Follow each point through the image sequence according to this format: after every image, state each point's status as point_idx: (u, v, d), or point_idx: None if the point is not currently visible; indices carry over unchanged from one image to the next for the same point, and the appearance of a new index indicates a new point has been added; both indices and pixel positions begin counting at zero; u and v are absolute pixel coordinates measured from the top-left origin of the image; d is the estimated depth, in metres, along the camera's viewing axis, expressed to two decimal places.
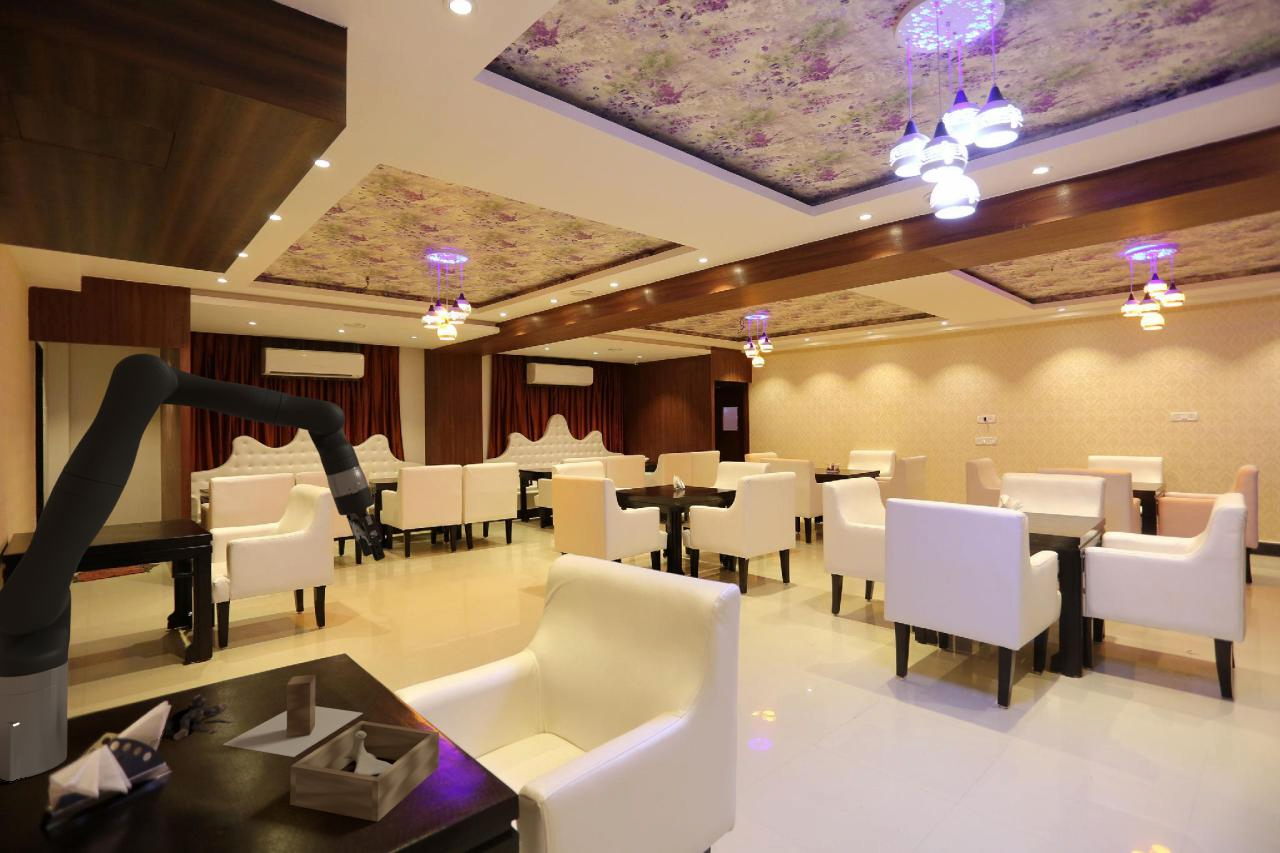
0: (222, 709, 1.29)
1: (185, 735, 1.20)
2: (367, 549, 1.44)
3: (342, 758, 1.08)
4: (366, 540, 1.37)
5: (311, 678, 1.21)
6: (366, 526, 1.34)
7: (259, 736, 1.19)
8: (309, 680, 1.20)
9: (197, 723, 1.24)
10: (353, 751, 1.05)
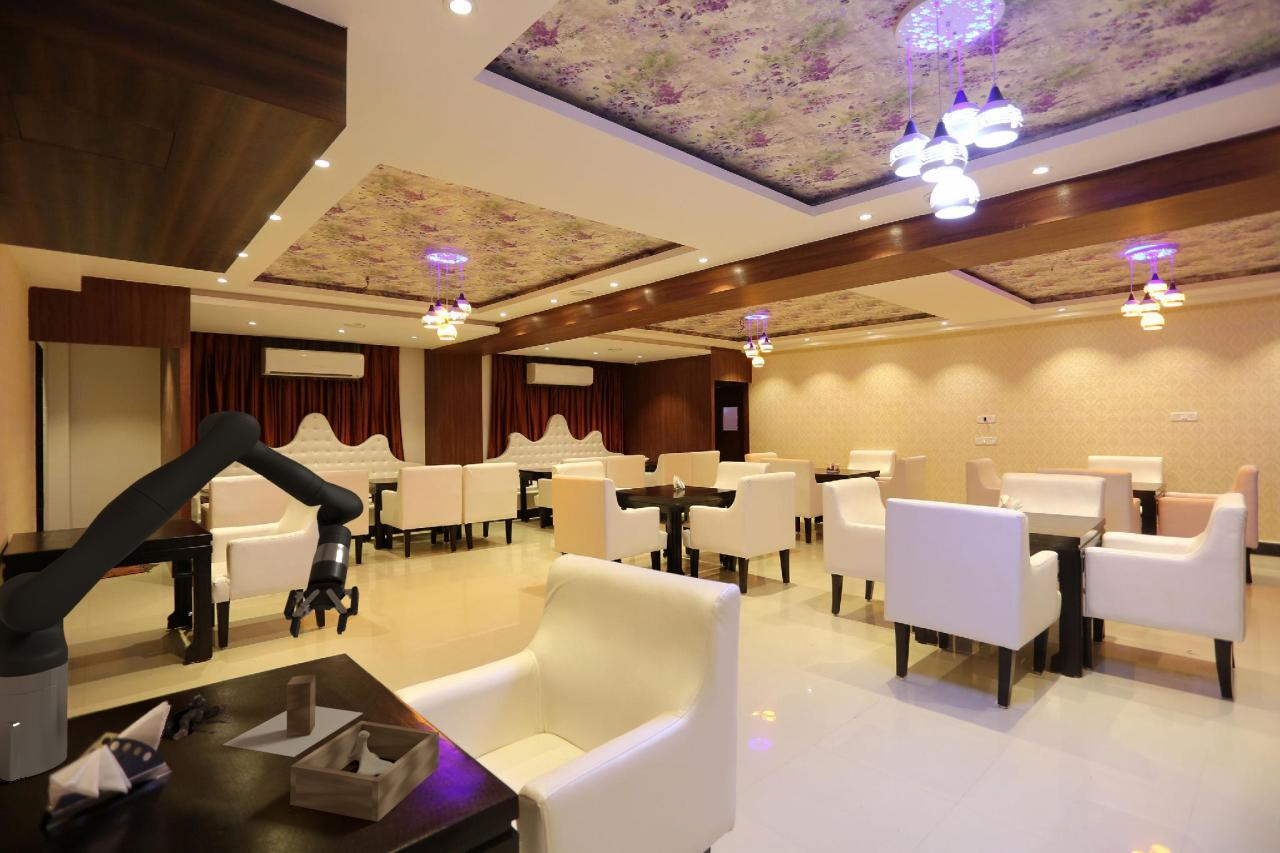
0: (222, 709, 1.29)
1: (184, 735, 1.20)
2: (297, 629, 1.32)
3: (342, 758, 1.08)
4: (338, 609, 1.35)
5: (311, 678, 1.21)
6: (357, 594, 1.39)
7: (259, 736, 1.19)
8: (309, 680, 1.20)
9: (197, 723, 1.24)
10: (356, 751, 1.05)
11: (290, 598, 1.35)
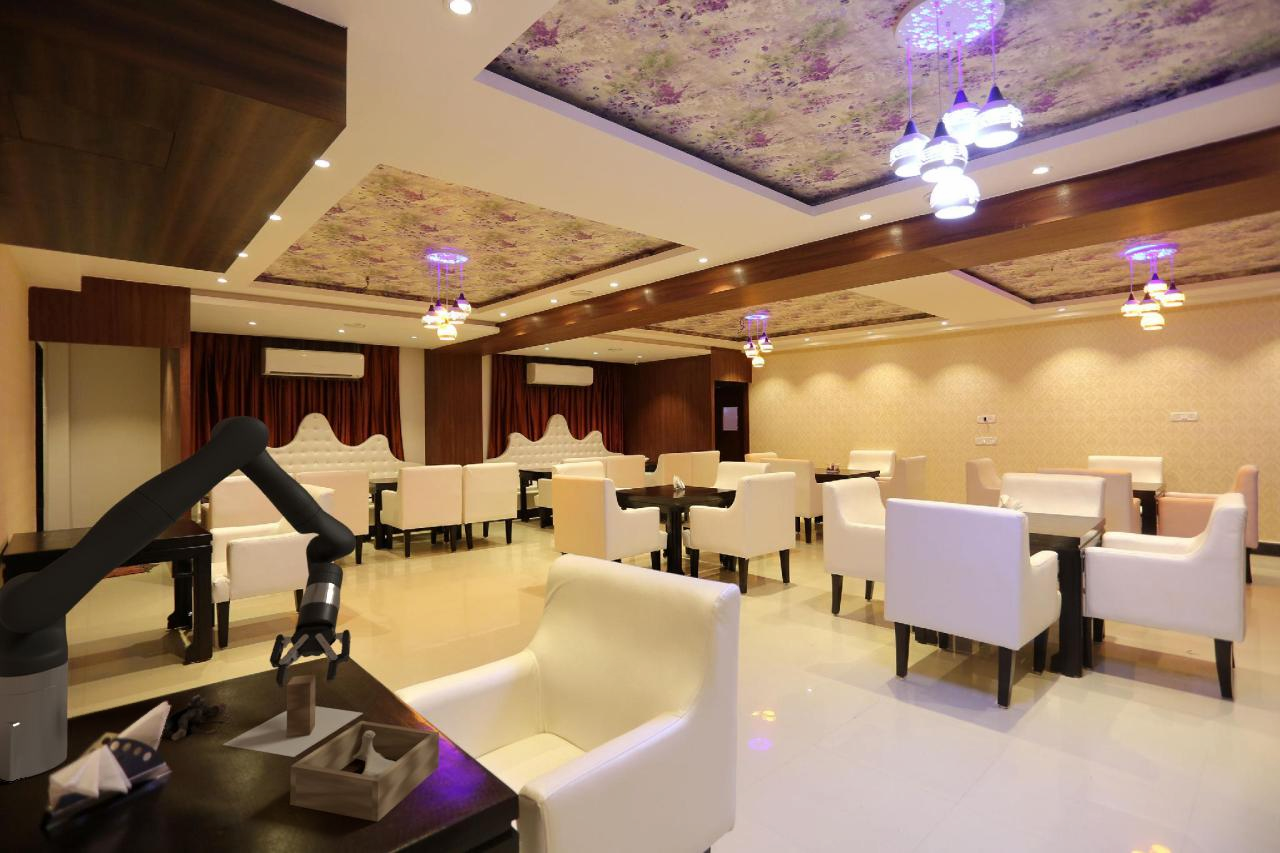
0: (221, 709, 1.29)
1: (183, 735, 1.20)
2: (284, 678, 1.24)
3: (342, 758, 1.08)
4: (328, 655, 1.27)
5: (311, 678, 1.21)
6: (348, 638, 1.31)
7: (259, 736, 1.19)
8: (309, 680, 1.20)
9: (196, 723, 1.23)
10: (362, 751, 1.05)
11: (277, 644, 1.27)
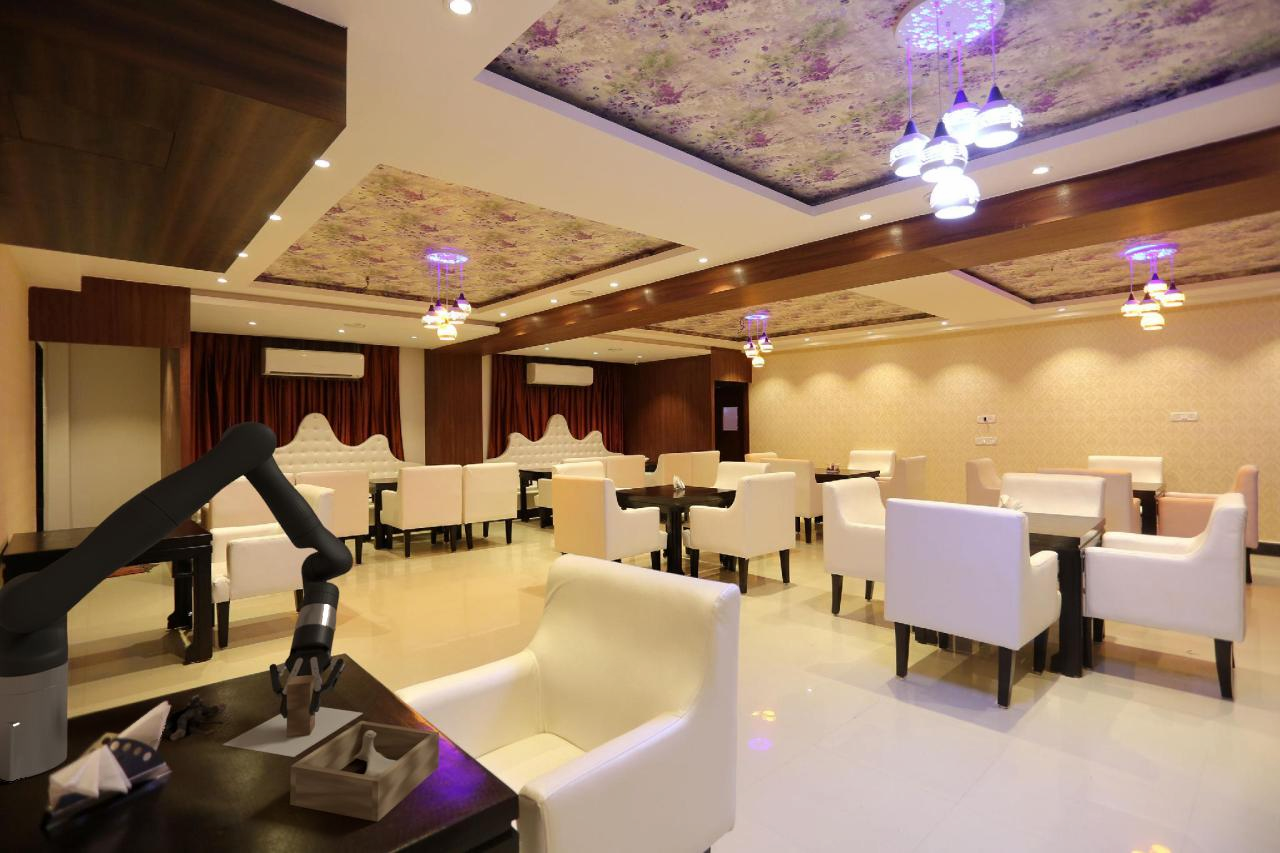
0: (221, 709, 1.29)
1: (182, 735, 1.19)
2: None
3: (342, 758, 1.08)
4: None
5: (311, 678, 1.21)
6: (339, 669, 1.25)
7: (259, 736, 1.19)
8: (309, 680, 1.20)
9: (195, 723, 1.23)
10: (363, 751, 1.05)
11: (273, 673, 1.22)
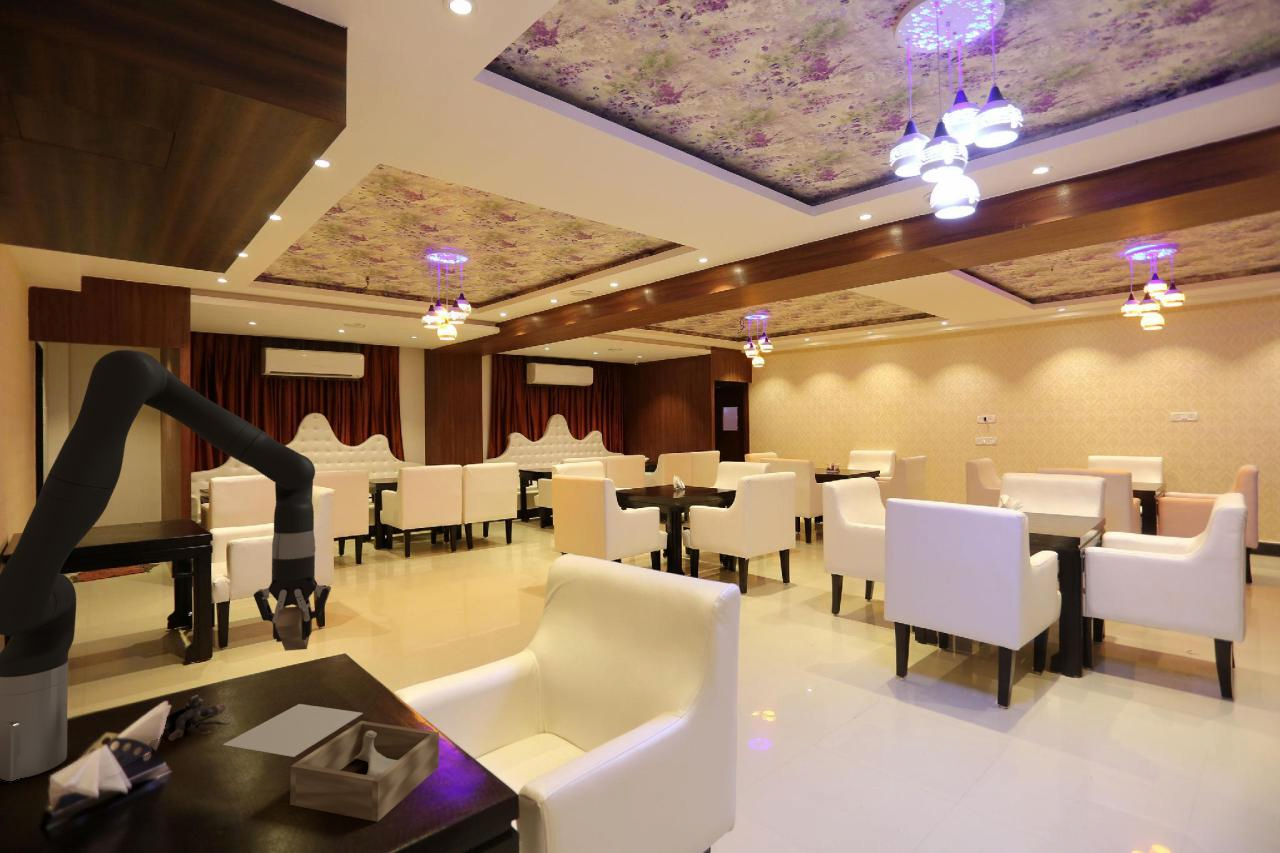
0: (220, 710, 1.28)
1: (180, 736, 1.19)
2: None
3: (342, 758, 1.08)
4: (302, 614, 1.25)
5: (298, 615, 1.23)
6: (325, 599, 1.26)
7: (259, 736, 1.19)
8: (297, 619, 1.22)
9: (194, 724, 1.23)
10: (364, 751, 1.05)
11: (259, 602, 1.23)
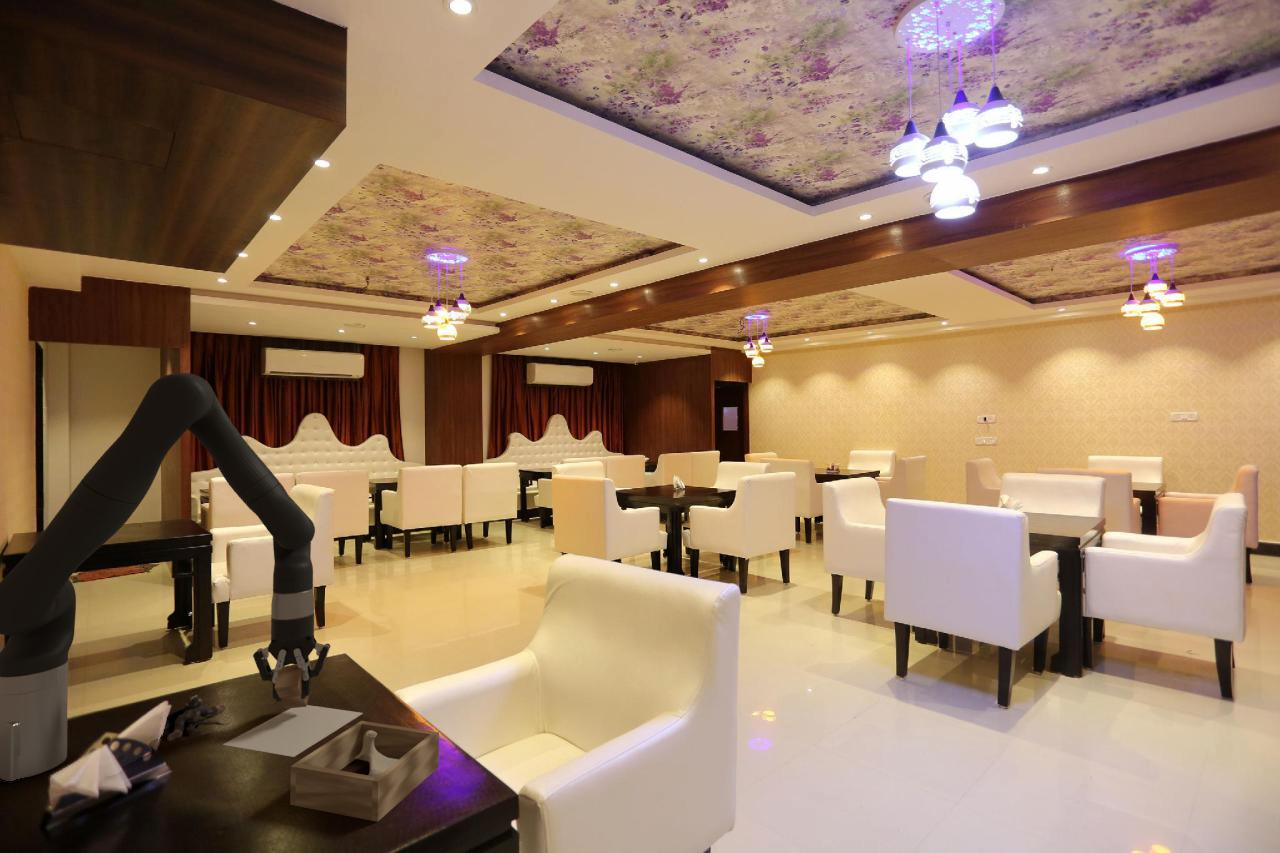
0: (220, 710, 1.28)
1: (179, 736, 1.19)
2: None
3: (342, 758, 1.08)
4: None
5: (298, 675, 1.23)
6: (325, 657, 1.26)
7: (259, 736, 1.19)
8: (296, 680, 1.22)
9: (193, 724, 1.23)
10: (364, 751, 1.05)
11: (259, 662, 1.22)
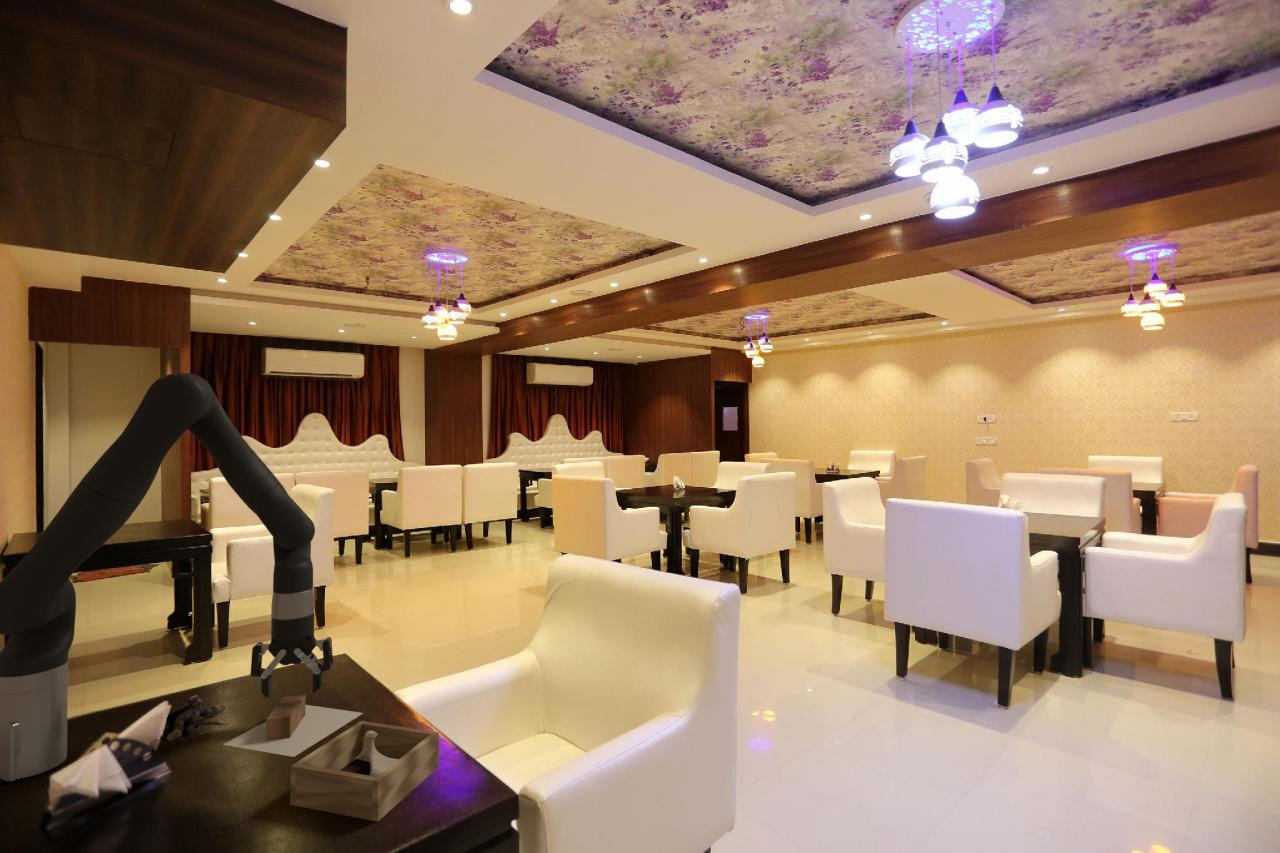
0: (220, 710, 1.28)
1: (178, 736, 1.19)
2: (270, 688, 1.24)
3: (342, 758, 1.08)
4: (311, 669, 1.25)
5: (288, 727, 1.18)
6: (329, 650, 1.26)
7: (259, 736, 1.19)
8: (287, 732, 1.18)
9: (192, 724, 1.23)
10: (365, 751, 1.05)
11: (254, 657, 1.22)
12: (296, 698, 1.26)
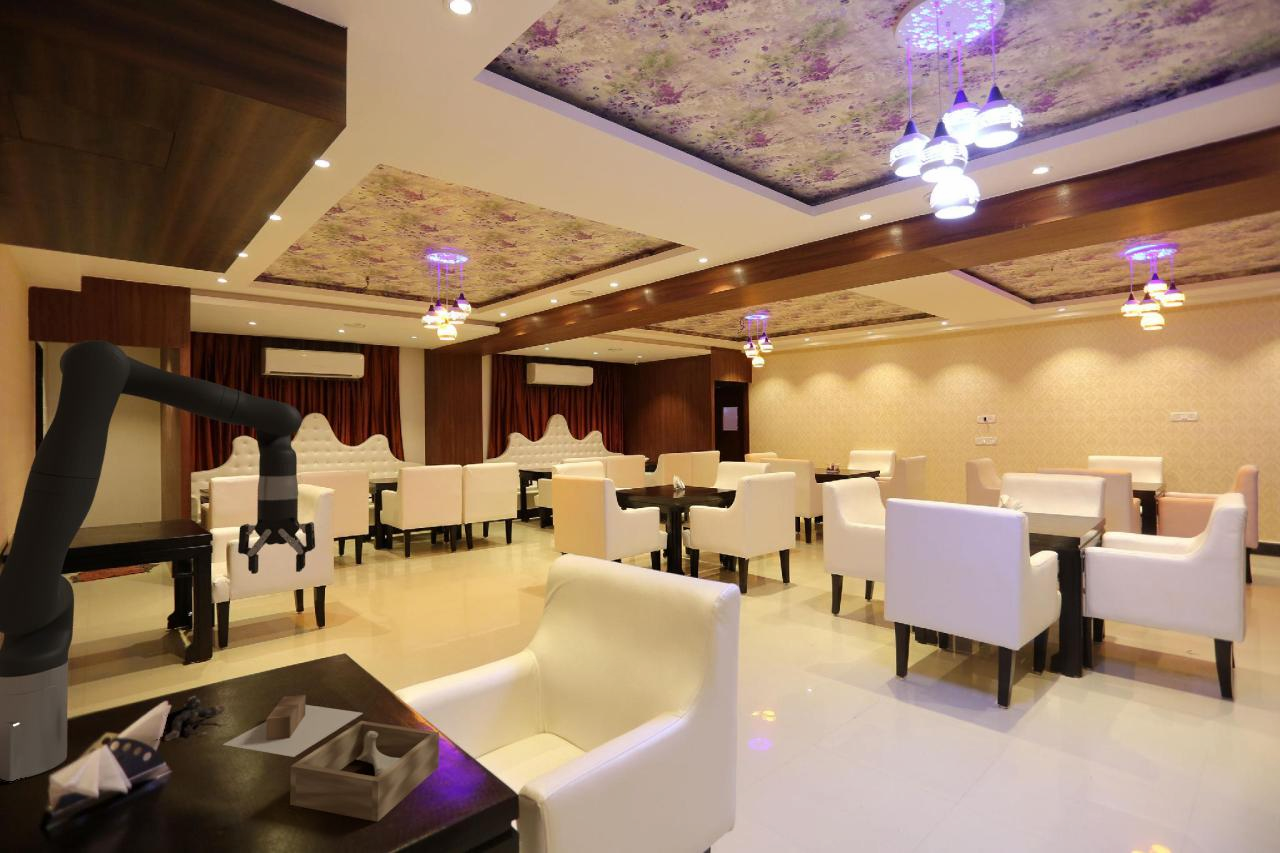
0: (219, 711, 1.28)
1: (176, 737, 1.19)
2: (256, 566, 1.34)
3: (342, 758, 1.08)
4: (294, 549, 1.35)
5: (288, 727, 1.18)
6: (311, 532, 1.36)
7: (259, 736, 1.19)
8: (287, 732, 1.18)
9: (191, 724, 1.23)
10: (366, 751, 1.05)
11: (242, 535, 1.32)
12: (296, 698, 1.26)
